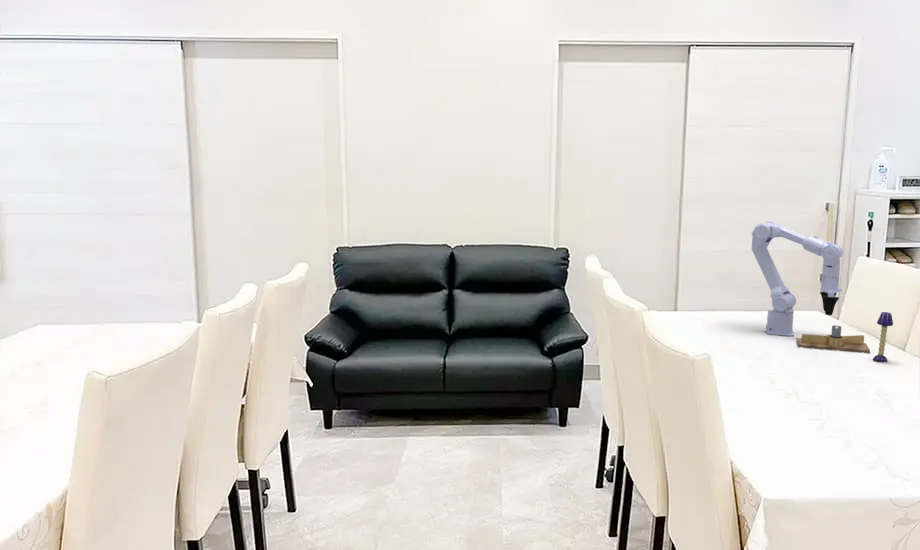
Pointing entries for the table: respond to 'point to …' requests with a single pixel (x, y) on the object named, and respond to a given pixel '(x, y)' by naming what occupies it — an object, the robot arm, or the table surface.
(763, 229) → the robot arm
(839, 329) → the pin
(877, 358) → the toy lamp
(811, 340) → the hinge
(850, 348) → the board
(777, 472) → the table surface
